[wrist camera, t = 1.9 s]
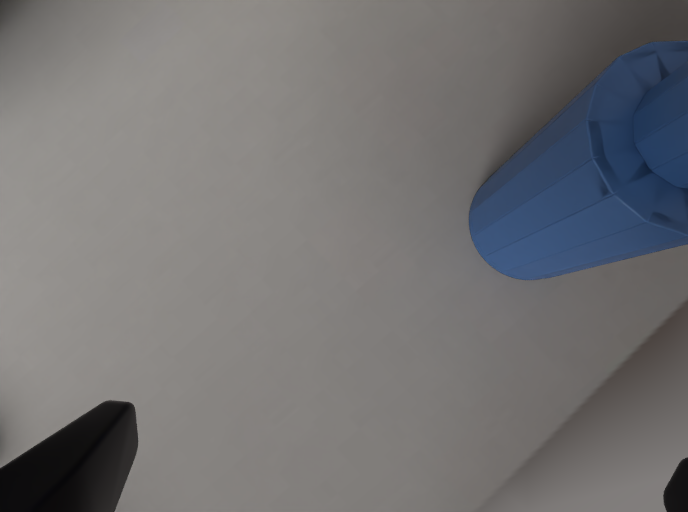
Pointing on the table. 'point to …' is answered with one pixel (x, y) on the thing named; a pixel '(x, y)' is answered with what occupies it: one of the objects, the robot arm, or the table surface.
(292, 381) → the table surface
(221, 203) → the table surface
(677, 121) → the bottle
